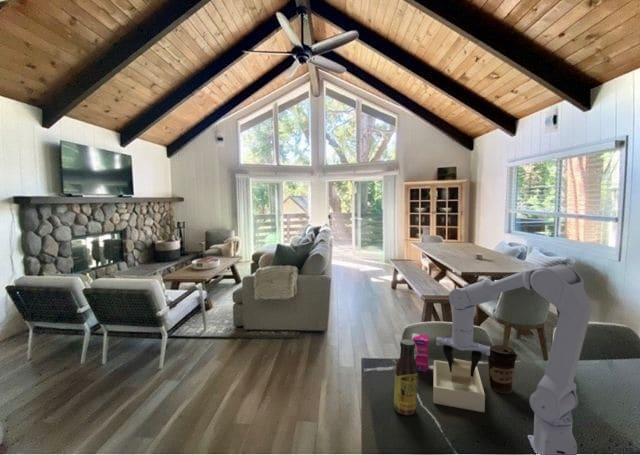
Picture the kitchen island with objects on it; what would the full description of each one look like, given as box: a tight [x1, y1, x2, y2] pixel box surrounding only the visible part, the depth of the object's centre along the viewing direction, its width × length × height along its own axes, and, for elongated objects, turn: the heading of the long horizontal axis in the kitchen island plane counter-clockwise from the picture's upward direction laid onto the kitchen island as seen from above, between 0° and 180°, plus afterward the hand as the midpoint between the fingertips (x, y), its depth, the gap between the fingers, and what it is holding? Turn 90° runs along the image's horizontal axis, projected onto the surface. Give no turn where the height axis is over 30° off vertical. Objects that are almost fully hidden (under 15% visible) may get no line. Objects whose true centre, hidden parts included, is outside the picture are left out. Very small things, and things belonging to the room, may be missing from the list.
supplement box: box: [411, 332, 430, 373], centre depth 116 cm, size 6×6×12 cm
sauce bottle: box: [393, 338, 419, 416], centre depth 92 cm, size 7×6×20 cm
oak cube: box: [451, 358, 471, 386], centre depth 96 cm, size 5×5×5 cm
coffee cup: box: [487, 344, 518, 394], centre depth 103 cm, size 9×8×13 cm
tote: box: [432, 359, 486, 413], centre depth 102 cm, size 18×14×5 cm
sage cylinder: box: [452, 382, 469, 391], centre depth 103 cm, size 5×5×7 cm
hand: (461, 372), depth 97 cm, fingers closed on oak cube, 5 cm apart
